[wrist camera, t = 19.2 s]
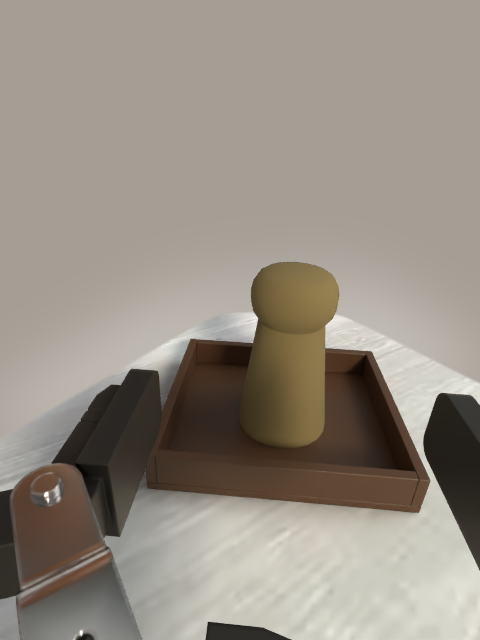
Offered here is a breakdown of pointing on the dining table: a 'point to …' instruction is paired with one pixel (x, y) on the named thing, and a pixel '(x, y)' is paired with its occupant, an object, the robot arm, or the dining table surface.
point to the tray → (280, 463)
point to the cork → (288, 355)
